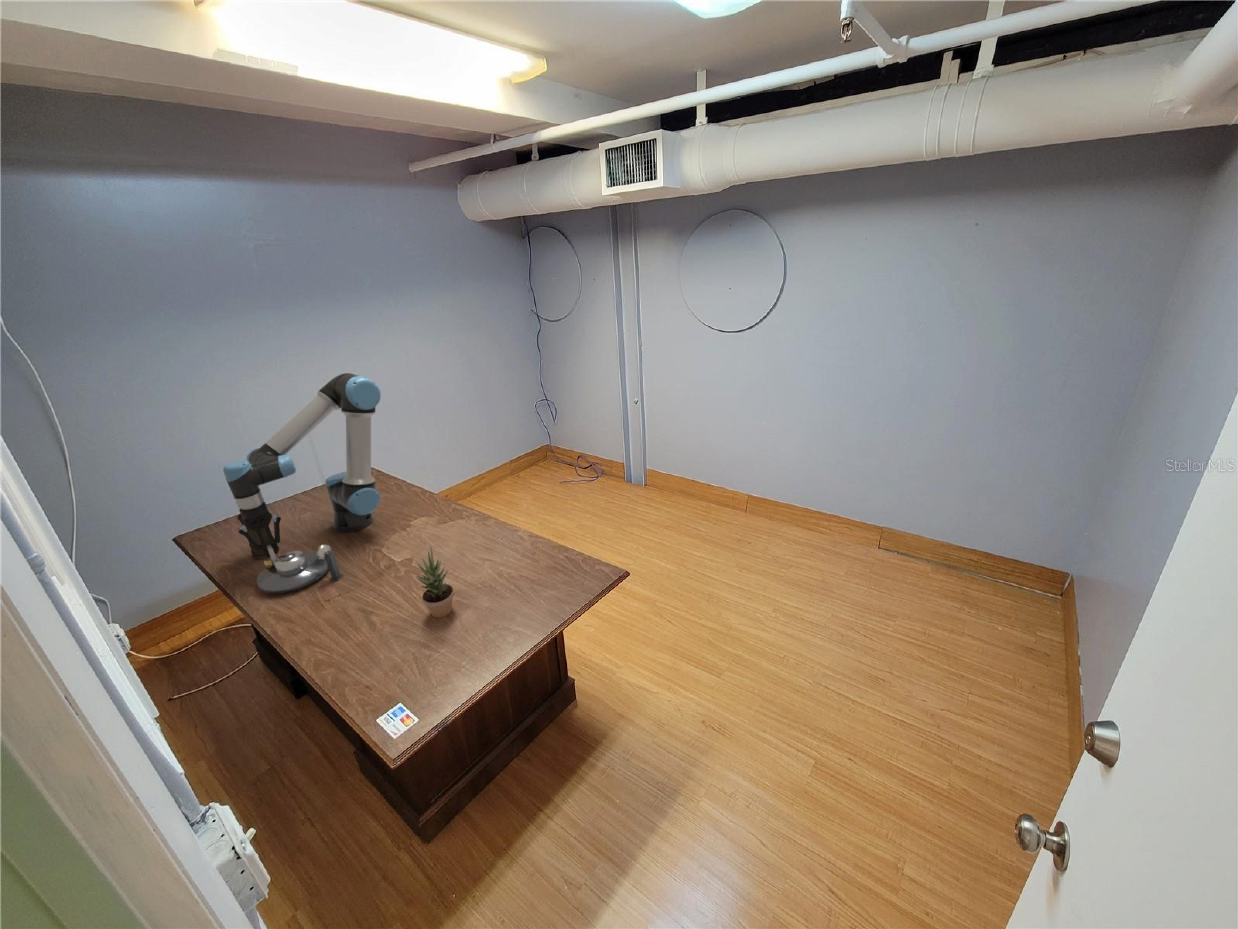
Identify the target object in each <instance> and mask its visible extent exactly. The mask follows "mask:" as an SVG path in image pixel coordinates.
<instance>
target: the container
mask: <svg viewBox="0 0 1238 929" xmlns="http://www.w3.org/2000/svg"><path fill="white" fill-rule="evenodd" d="M237 520H239V523H241V527H242V526H243V518H242V515H241V513H240V512H239V514H238V515H237ZM268 527H269V530H270V533H271V535H272V538H273V540H275V536H274V535H273V533H272V531H271V528H270V525H269V526H268ZM246 529H247V532H248V533H249V535H250V536H251V537H252V538H253V539H254V540H255V541H256V543H257V544H258V545H261V544H260V541H259V539H258V537H257V534H256V532H255V531H254V530H252V529H249V528H247V527H246ZM260 531H261V534H262V536H263V539H264V541H265V544H266V546H269V545H270V543H269V541H268V538H267V536H266V533H265V531H264V528H263V529H260ZM247 541H248V544H249V547H250V550H251V551H250V552H251V556H252V558H253V559H254V560H266V559H270V558H271V557H270V556H269V557H266V555H265V553H264V550H259V551H258V550H256V548H255V547H254V546H253V545H252V544H251V543H250V542H249V540H248V539H247ZM276 548H277V551H278V552H279V551H280V546H279V545H278V543H277V544H276Z"/></svg>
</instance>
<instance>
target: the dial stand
mask: <svg viewBox="0 0 1238 929" xmlns="http://www.w3.org/2000/svg"><path fill="white" fill-rule="evenodd" d="M316 552H317V557H318V558H319V559H326V562H327V565H328V568H329V569H328V571H329V574H330V578H329V581H333V582H334V581H335V582H338V581H340V580H341V579H342V577H344V574H343V573H340V569H339V566H338V562H337V560H336V557H335V553H334V551H333V550H332V548H331V546H330V545H329V544H320V545H319V546H318V547H317V550H316Z"/></svg>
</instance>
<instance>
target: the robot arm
mask: <svg viewBox="0 0 1238 929" xmlns="http://www.w3.org/2000/svg"><path fill="white" fill-rule="evenodd" d="M316 394H317V395H316V396H315V397H314V398H313V400H311V401H310V402H309V403H308V404H307V405H305V407H303V408H302V409H301V410H300V411H299V412H298V413H296V415H295V416H293V418H291V419H290V420H289V421H288V422H287V423H286V424H285V425H284V426H283V427H282V428H280V429H279V430H278V431H277V432H276V433H275V434H274V435H273V436H271V437H270V439H267V441H266V442H265V443H264V444H263V445H261V446H260V447H257V448H253V449H251V450H250V451H249V452H248V453H247V454H246V460H245V459H241V460H237V461H236V460H235V461H232V462H229V463H227V464H225V465H224V467H223V470H222V471H223V474H224V476H225V481H226V483H227V485H228V487H229V490H230V492H231V494H232V496H233V498H234V501H235V504H236V506H237V509H239V514H240V513H241V515H242V518H243V526H242V525H241V527H238V528H237V532H238V533H239V534H240V535H242V536H244V538H246V539H247V541H248V540H249V541H248V543H249V542H250V543H251V544H252V545H253V546H254V547H255V548H256V550H258V551H259V550H264V553H265V555H266V557H269V556H270V557H269V558H270V559H272V561H273V564H274V561H275V559H276V558H277V556H276V554H278V553H279V551H277V548H276V544H277V545H278V544H280V543H281V532H280V530H281V529H280V527H281V526H280V522H281V520H282V517H281V516H280V515H279V514H276V515H273V514H272V513H271V512H270V511H269V509H268V506H267V503H266V502H265V499H264V496H263V494H262V491H261V489H260V486H262V485H264V484H268V483H272V482H274V481H277V480H280V479H284V478H287V477H289V476H292V475H294V474H295V473H296V471H297V470H296V469H297V468H296V465H295V462H294V460H293V459H292V457H291V456H290V455H289V454H288V453H289V452H291V451H292V449H294V448H295V447H296V446H297V445H298V444H299V443H301V441H302V440H304V439H305V437H306V436H308V435H309V434H310V433H312V431H313V430H314V429H315V428H316V427H317V426H318V425H320V424H321V423H322V422H323V421H324V420H325V419H326V418H328V417H329V416H330V414H332V412H334V411H338V410H340V411H341V412H342V413H343V414H344V416H345V441H346V442H345V447H346V448H345V451H346V452H345V454H346V457H345V458H346V462H345V463H346V471H342V472H338V473H335V474H333V475H330V476H329V477H327V478H326V479H325V482H324V483H325V488H326V490H327V494H328V497H329V500H330V503H331V506H332V509H333V521H332V525H333V528H334V530H335V532H338V533H353V532H357V531H360V530H362V529H364V528H366V527H368V526H370V525H371V524H372V523H373V521H374V516H373V512H374V511H375V510H376V509H377V508H378V507H379V504H380V503H381V496H380V493H379V492H378V490H376V478H375V477H374V476H372V416H373V415H374V414H376V407H377V406H378V404H380V401H381V390H380V387H379V386H378V384H377V383H376V382H375V381H374V380H372V379H370V378H368V377H366V376H363V375H358V374H353V373H351V372H350V373H349V372H348V373H345V372H344V373H340V374H339V375H336V376H335V377H333V378H332V379H331V380H329V381H328V382H327V383H326V384H325V385H324V386H322V387H321V388H320V389H319V390H317V393H316ZM271 521H272V522H273V529H274V530H273V533H274V535H273V534H272V535H271V533H272V532H271V533H270V530H271V529H270V530H269V528H270V523H271ZM268 526H269V527H268ZM246 527H247V528H249V529H252V530H254V531H255V532H256V534H257V537H258V539H259V541H260V544H261V545H258V544H257V543H256V541H255V540H254V539H253V538H252V537H251V536H250V535H249V533H248V532H247V529H246ZM263 528H264V531H265V533H266V536H267V538H268V541H269V543H270V545H269V546H266V544H265V541H264V539H263V536H262V534H261V531H260V529H263ZM272 536H273V537H274V540H273V538H272ZM274 565H275V564H274Z"/></svg>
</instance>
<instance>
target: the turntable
mask: <svg viewBox="0 0 1238 929" xmlns="http://www.w3.org/2000/svg"><path fill="white" fill-rule="evenodd" d="M303 553H304V556H305V559H306V562H307V565H308V567H307V569H306V570H305V571H303V572H302V573H300V574H298V575H295V576H292V577H286V578H284V577H280V576H279V575H278V572H277V570H276V567H275V565H274V564H273V561H272V559H271V558H266V559H264V560H263V564H264V566H265V568H264V569H263V570H262V571H261V572H260V573H259V574H258V576H257V578H256V584H257V586H258V589H259V590H260V591H261V592H262V593H266V594H273V595H274V594H284V593H289V592H294V591H297V590H299V589H302V588H305V587H307V586H309V585H311V584H312V583H315V582H317V580H319V579H320V578H322V577H323V576H324V575H325V574H326V573H327V572H328V571H329V568H328V565H327V562H326V559H319V558H318V557H317V551H307V552H306V551H305V552H303Z"/></svg>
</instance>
